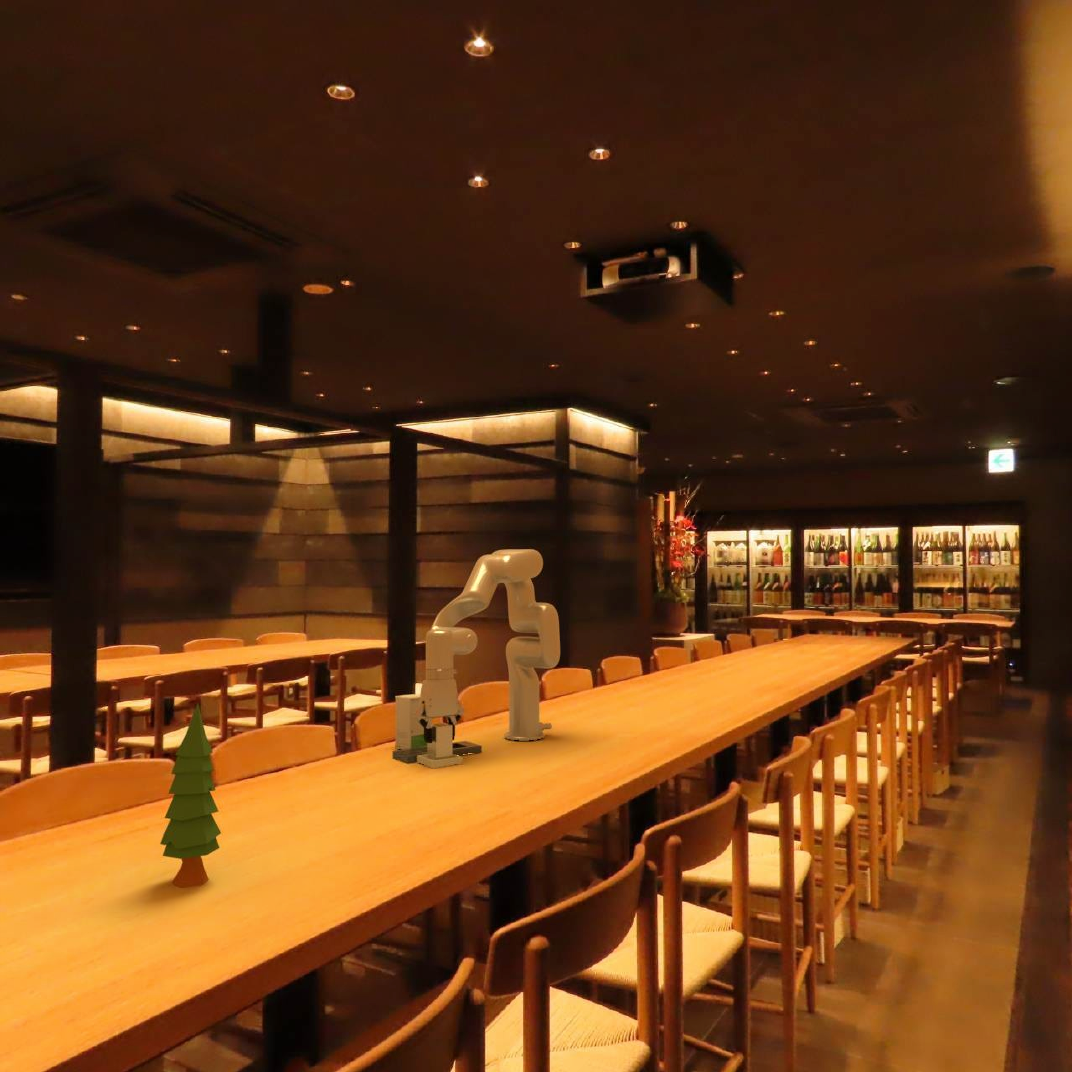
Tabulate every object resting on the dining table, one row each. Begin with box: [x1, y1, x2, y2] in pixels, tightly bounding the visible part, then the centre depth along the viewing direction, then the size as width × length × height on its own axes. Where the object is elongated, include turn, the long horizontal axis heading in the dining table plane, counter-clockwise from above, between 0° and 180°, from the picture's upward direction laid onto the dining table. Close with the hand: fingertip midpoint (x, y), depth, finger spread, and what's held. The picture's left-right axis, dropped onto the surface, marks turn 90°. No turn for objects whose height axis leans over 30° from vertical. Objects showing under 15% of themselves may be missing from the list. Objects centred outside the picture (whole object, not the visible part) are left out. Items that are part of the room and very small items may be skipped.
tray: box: [416, 754, 463, 769], centre depth 244 cm, size 9×9×2 cm
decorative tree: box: [159, 703, 222, 888], centre depth 152 cm, size 10×9×30 cm
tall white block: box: [427, 722, 453, 761], centre depth 244 cm, size 5×5×10 cm
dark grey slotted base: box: [392, 740, 483, 764], centre depth 255 cm, size 24×9×2 cm, turn 126°
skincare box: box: [394, 693, 427, 750], centre depth 265 cm, size 8×7×16 cm
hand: (439, 740), depth 244 cm, fingers open, 6 cm apart
